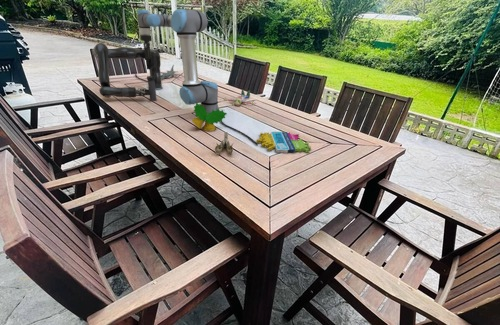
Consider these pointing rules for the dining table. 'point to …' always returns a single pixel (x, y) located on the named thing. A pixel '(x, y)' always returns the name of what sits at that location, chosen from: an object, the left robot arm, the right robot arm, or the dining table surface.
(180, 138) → the dining table surface
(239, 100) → the toy
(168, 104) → the dining table surface
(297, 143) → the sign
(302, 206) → the dining table surface
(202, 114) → the ornament
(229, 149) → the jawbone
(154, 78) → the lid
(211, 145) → the dining table surface
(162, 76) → the airplane
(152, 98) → the jar
